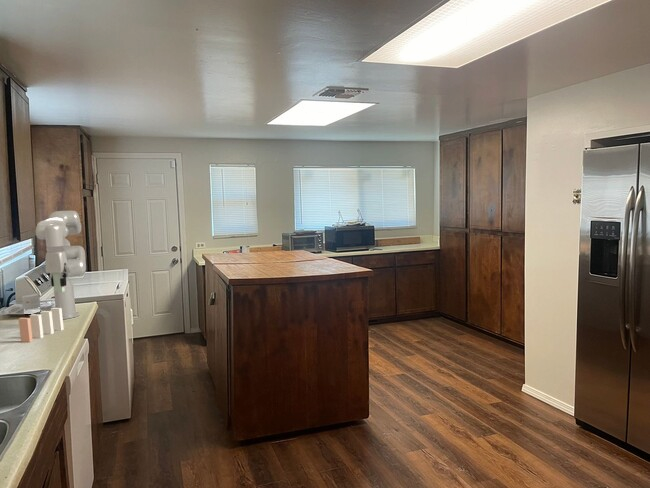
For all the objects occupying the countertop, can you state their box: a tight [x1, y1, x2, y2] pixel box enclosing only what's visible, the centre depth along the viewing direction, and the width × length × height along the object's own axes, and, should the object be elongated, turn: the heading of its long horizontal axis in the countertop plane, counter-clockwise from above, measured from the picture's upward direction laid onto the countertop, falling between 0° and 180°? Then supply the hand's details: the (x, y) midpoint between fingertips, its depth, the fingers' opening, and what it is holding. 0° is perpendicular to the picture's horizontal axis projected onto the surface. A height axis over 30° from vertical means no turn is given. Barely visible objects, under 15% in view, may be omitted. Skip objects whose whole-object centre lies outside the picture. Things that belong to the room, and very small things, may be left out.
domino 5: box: [50, 307, 65, 332], centre depth 240 cm, size 2×5×11 cm, turn 76°
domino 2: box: [29, 313, 44, 339], centre depth 228 cm, size 2×5×11 cm, turn 76°
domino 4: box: [53, 273, 65, 293], centre depth 243 cm, size 2×5×11 cm, turn 74°
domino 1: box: [18, 317, 34, 343], centre depth 222 cm, size 2×5×11 cm, turn 75°
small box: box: [20, 293, 41, 310], centre depth 278 cm, size 8×6×10 cm
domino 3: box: [39, 310, 55, 335], centre depth 234 cm, size 2×5×11 cm, turn 76°
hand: (59, 285), depth 244 cm, fingers closed on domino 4, 4 cm apart
